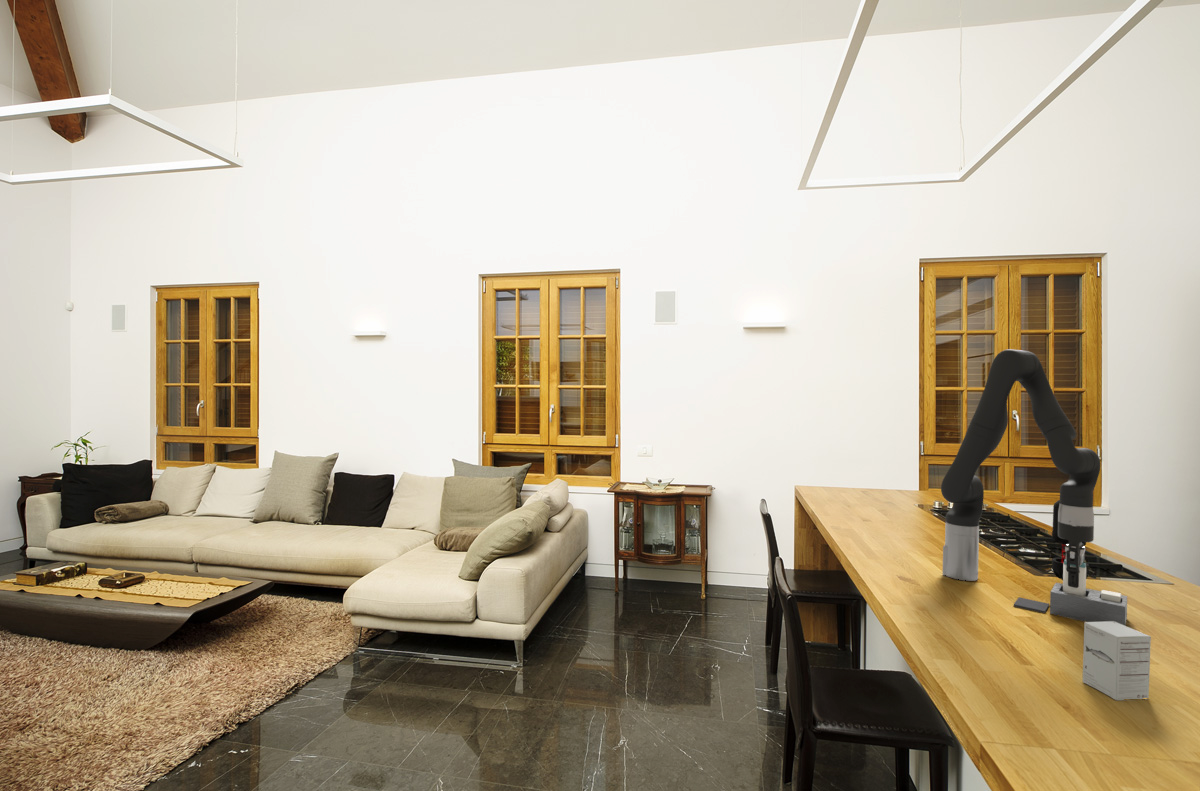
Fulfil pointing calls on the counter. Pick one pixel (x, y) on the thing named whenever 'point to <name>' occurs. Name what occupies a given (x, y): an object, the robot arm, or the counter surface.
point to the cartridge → (1082, 580)
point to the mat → (1031, 605)
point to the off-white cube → (1111, 596)
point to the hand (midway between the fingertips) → (1074, 584)
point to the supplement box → (1116, 660)
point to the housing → (1087, 606)
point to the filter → (1058, 562)
